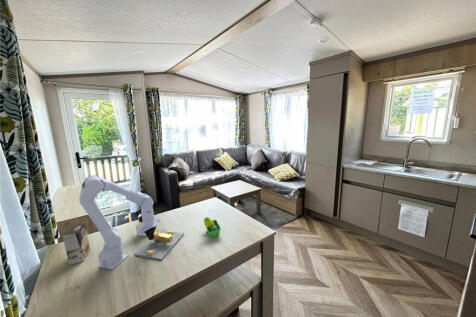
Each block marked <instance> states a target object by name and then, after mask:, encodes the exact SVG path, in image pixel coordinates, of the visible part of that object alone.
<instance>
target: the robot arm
mask: <svg viewBox="0 0 476 317" xmlns="http://www.w3.org/2000/svg"><path fill="white" fill-rule="evenodd" d="M80 189H81V190H80V193H79V194H80V195H79V204H80V205H81V206H82V208H83V210H84V211H85V213H86V214H87V215H88V217H89V218H90V220H91V221H92V222H93V224H94V225H95V227H96V228H97V230H98V231H99V233H100V235H101V237H102V239H103V241H104V244H103V248H102V250H101V251H100V252H99V253H98V261H99V265H98V267H99V268H103V269H107V270H114V269H115V268H116V267H117V266H118V265H119V264H120V263H122V262H123V261H124V260H125V259H126V258H127V257H128V256H129V255H128V254H124V250H123V245H122V239H121V237H120V235H119V233H118V230H117V229H116V228H114V227H113V226H112V225H111V224H110V223H109V221H108V220H107V218H106V216H105V215H104V213H103V212H102V210H101V209H100V207H99V206H98V204H97V203H96V200H95V199H96V197H97V195H99V194H100V193H101V192H103V193H104V192H108V191H111V192H113V193H115V194H119V195H121V196H125V199H126V200H127V201H128V202H131V203H133V204H136V205H140V210H141V211H140V213H141V214H142V220H143V226H142V227H141V229H140V230H139V231H138V235H137V236H140V235H142V233H145V234H146V235H147V236H146V237H147V239H148V240H149V241H150V240H153V237H154V232H156V229H157V223H158V222H160V217H156V218H155V215H154V214H155V212H154V208H153V206H154V203H155V201H154V199H153V198H152V197H151V196H150V195H148V194H147V193H142V192H140V191H139V190H138V189H137V188H135V189H133V188H132V189H127V188H125V187H123V186H121V185H119V184H117V183H116V182H113V181H112V180H109V179H106V178H104V177H100V176H99V175H94V174H93V175H89V176H87V177H86V178H85V179H84V180H83V182H82V183H81V188H80Z"/></svg>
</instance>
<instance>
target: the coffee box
mask: <svg viewBox="0 0 476 317" xmlns="http://www.w3.org/2000/svg"><path fill="white" fill-rule="evenodd" d="M62 239H63V240H62V241H63V244H64V248H65V252H66V256H67V261H68V265H74V264H79V263H82V262H85V260H86V258H87V257H88V255H89V254H90V252H91V246H90V241H89V235H88V230H87V225H86V223H80V224H75V225H71V226H70V227H69V228H68V229H67V230H66V231H65V232H64V233H63V234H62Z"/></svg>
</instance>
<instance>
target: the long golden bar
mask: <svg viewBox="0 0 476 317" xmlns="http://www.w3.org/2000/svg"><path fill="white" fill-rule="evenodd" d="M153 240H154V243H155V244H157V245H159V244H163V243H165V242H167V243H170V242H171V241H172V235H169V234H163V233H159V232H156V231H155V232H154V237H153Z"/></svg>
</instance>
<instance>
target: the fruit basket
mask: <svg viewBox="0 0 476 317" xmlns="http://www.w3.org/2000/svg"><path fill="white" fill-rule="evenodd" d="M203 222H204V226H205V228H206V230H207V232H208V236H209V238H214V237H219V236H220V232H221V229H222V228H221V226H220V225H219V223H218V221H217V219H213V218H210V217H208V216H206V217H204V218H203Z"/></svg>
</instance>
